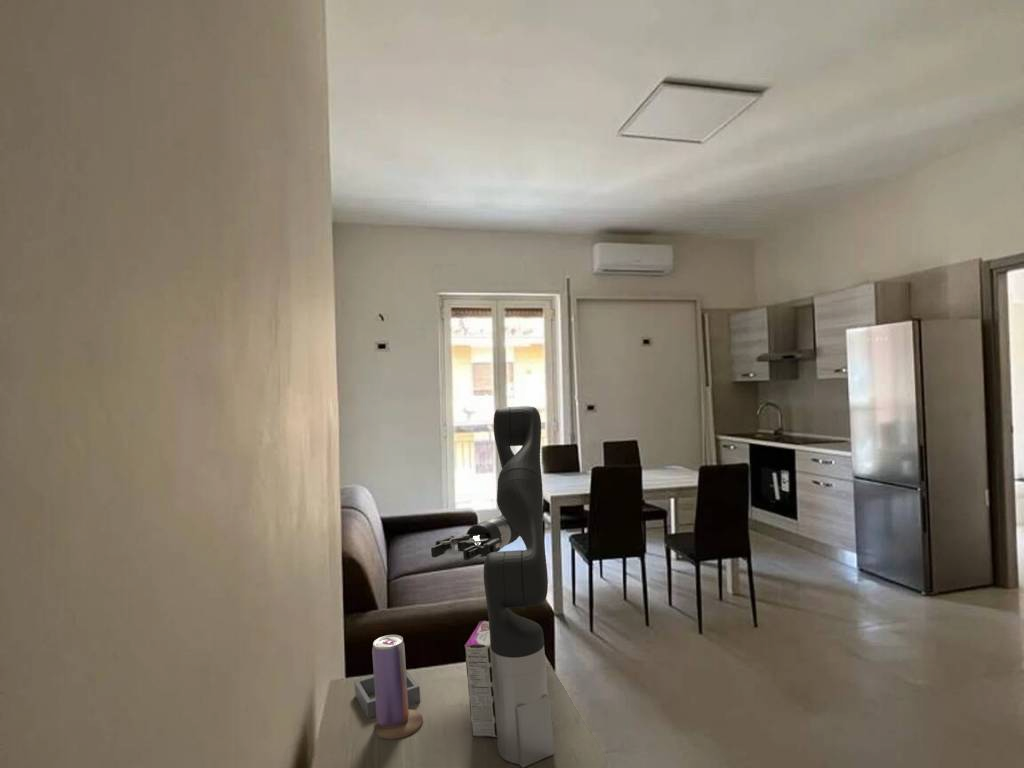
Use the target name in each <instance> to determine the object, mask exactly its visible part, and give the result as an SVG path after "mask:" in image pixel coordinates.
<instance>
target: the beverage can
mask: <svg viewBox="0 0 1024 768" xmlns="http://www.w3.org/2000/svg"><path fill="white" fill-rule="evenodd" d="M371 650H372V651H371V654H372V667H373V670H372V671H373V676H374V686H375V692H374V699H375V702H376V716H375V717H376V721H377V723H378V724H379V726H380V727H382V728H385V729H392V728H396V727H399V726H401V725H403V724H404V723H405V722H406V720H407V718H408V716H409V710H408V709H409V705H408V694H407V679H406V671H407V668H406V667H407V666H406V652H405V651H406V650H405V642H404V638H403V636H401V635H398V634H387V635H384V636H383V635H382V636H380V637H378V638H377V639H375V640H374V641H373V643H372V648H371Z"/></svg>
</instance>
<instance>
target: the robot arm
mask: <svg viewBox="0 0 1024 768" xmlns="http://www.w3.org/2000/svg"><path fill="white" fill-rule="evenodd" d="M493 435H494V440H495V445H496V450H497V454H498V458H499V462H500V466H501V471H500V472H499V474H498V478H497V487H496V488H497V492H496V502H497V507H498V510H499V512H500V513H501V515H500V516H497V517H495V518H491V519H487V520H484V521H482V522H479V523H477V524H474V525H471V526H470V528H469V529H468V530H467V532H466V534H463V535H461V536H456V537H455V535H449V536H447V537H444V538H442V539H438V540H436V541H435V545H434V546H432V547H431V548H430V549H431V551H430V552H431V553H430V554H431V557H432V558H437V557H440V556H443V555H445V554H450V553H451V554H452V555H458V554H462V557H463V560H464V561H468V560H472V559H474V558H476V557H477V558H485V559H484V563H483V585H484V592H485V600H486V608H487V617H488V621H489V631H490V645H491V659H492V674H493V688H494V702H495V716H496V728H497V737H496V738H497V739H496V741H497V751H498V754H499V756H500V757H501V758H502V759H503V760H505V761H507V762H509V763H511V764H517V765H519V766H520V767H521V768H525V767H528V766H530V765H532V764H535V763H537V762H540V761H541V760H544V759H546V758H548V757H551V756H553V755H554V754H555V749H554V735H553V722H552V721H553V720H552V719H553V718H552V708H551V698H550V695H549V693H548V681H547V680H548V679H547V669H546V668H547V666H546V653H545V638H544V631H543V630H544V629H543V628H542V626H541V625H540V624H539V623H538V622H536V621H534V620H531V619H529V618H526V617H524V616H521V615H519V614H516V613H515V612H513V611H512V610H511V609H510V608H523V607H524V608H525V607H535V606H540V605H542V604H543V603H545V601H546V600H547V596H548V590H549V589H548V588H549V581H548V580H549V577H548V565H547V556H546V547H545V537H544V527H543V525H544V524H543V520H544V519H543V514H544V513H543V510H544V509H543V505H544V504H543V502H544V499H543V498H544V494H543V492H544V491H543V478H542V477H543V475H542V466H541V447H542V446H541V444H542V420H541V415H540V413H539V410H538V409H537V407H534V406H528V405H524V406H504V407H499V408H497V409H496V410H495V412H494V414H493ZM520 446H521V448H520V449H519V450H518V451H517V452H516V453H514V452H513V450H512V448H511V447H520ZM519 537H520V538H521V540H522V542H523V544H524V546H525V548H526V549H523V550H521V549H519V550H505V551H504V550H503V551H501V549H503V548H504V547H505V546H508V545H510V544H512V543H514V542H516V540H518V538H519ZM456 545H457V549H456Z"/></svg>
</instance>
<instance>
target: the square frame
mask: <svg viewBox="0 0 1024 768" xmlns="http://www.w3.org/2000/svg"><path fill="white" fill-rule="evenodd" d="M406 679H407V694H408V706H412V705H413V704H416V703H419V702H421V693H420V692H421V691H420V690H421V689H420V685H419V684H418V682H417V681H415V679H414V678H413V677H412V675H411V674H410V673H409V672H408V671H407V670H406ZM354 692H355V693H354V695H355V698H356V699H357V701H358V703H359V705H360V707H361V709H362V710H363V712H364V715H365V716H366V718H367V719H368V720H369V719H372V718H375V717H376V702H375V698H372V699H370V697H369V696H368V694H372V693H375V686H374V675H371V676H368V677H365V678H361V679H358V680H354Z"/></svg>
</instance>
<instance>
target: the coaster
mask: <svg viewBox="0 0 1024 768" xmlns="http://www.w3.org/2000/svg"><path fill="white" fill-rule="evenodd" d="M408 710H409V716H408V718H407V720H406V722H405V723H404V724H403V725H401V726H399V727H396V728H392V729H385V728H382V727H380V726H379V724H378V723H377V720H376V721H375V723H374V725H373V732H374V734H375V736H377V737H378V738H381V739H383V740H399V739H403V738H406V737H409V736H411V735H413V734H415V733H416V732H417V731H418V730H420V728H421V727H422V726H423V722H424V719H423V715H422V714H421V712H419V711H417V710H415V709H409V708H408Z"/></svg>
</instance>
